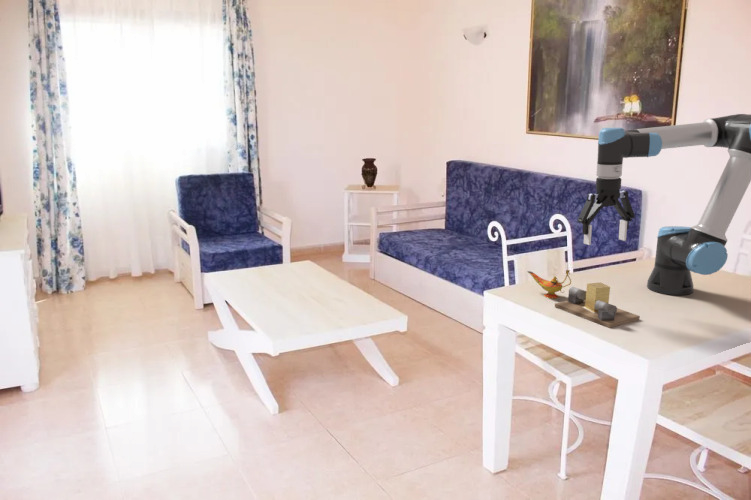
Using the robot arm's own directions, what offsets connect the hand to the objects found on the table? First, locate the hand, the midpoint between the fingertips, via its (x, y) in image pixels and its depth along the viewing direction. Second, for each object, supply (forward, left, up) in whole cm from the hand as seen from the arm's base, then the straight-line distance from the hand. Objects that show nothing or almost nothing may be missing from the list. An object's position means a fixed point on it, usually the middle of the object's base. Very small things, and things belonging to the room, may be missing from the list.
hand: (604, 242), depth 202 cm
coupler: (0, +9, -20) cm, 22 cm away
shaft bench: (0, +9, -22) cm, 23 cm away
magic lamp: (+17, -4, -22) cm, 28 cm away
